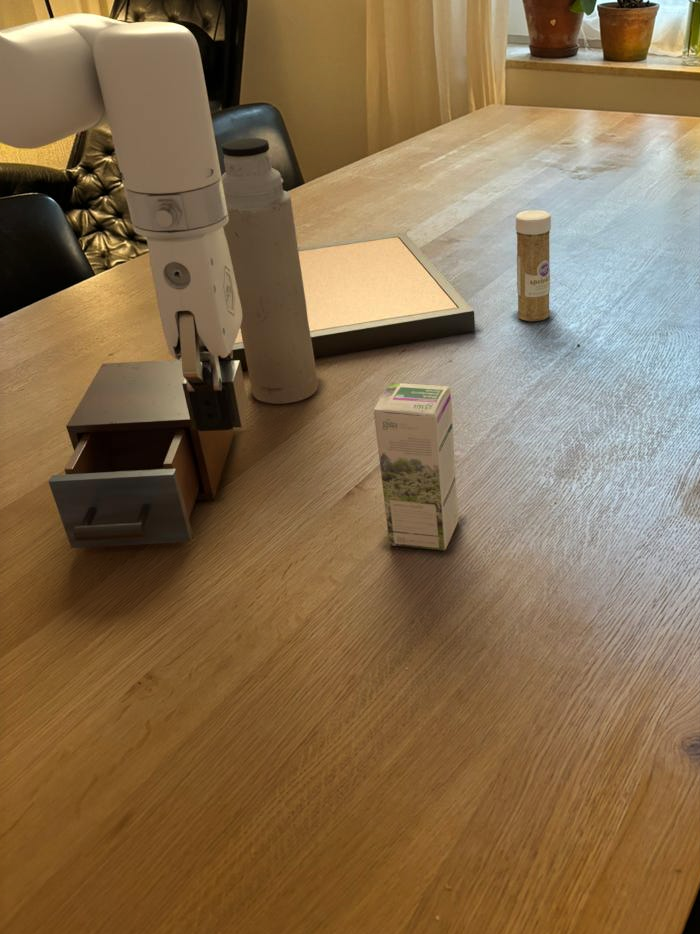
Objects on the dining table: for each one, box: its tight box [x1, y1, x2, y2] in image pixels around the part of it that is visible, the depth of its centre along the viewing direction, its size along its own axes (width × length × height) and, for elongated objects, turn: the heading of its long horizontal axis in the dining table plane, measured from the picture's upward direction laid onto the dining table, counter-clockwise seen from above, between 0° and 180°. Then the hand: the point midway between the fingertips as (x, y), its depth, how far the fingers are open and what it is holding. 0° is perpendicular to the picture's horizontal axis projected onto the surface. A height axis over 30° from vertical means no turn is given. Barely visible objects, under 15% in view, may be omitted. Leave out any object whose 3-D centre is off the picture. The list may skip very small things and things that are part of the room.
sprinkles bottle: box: [515, 209, 552, 322], centre depth 136 cm, size 5×5×13 cm
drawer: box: [48, 427, 202, 549], centre depth 99 cm, size 18×11×7 cm, turn 2°
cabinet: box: [65, 358, 235, 501], centre depth 108 cm, size 15×13×9 cm
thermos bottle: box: [221, 137, 319, 405], centre depth 117 cm, size 8×8×28 cm
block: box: [182, 361, 249, 429], centre depth 92 cm, size 4×4×4 cm
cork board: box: [227, 232, 476, 371], centre depth 145 cm, size 36×3×35 cm
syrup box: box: [373, 382, 460, 551], centre depth 95 cm, size 6×6×14 cm
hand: (219, 413), depth 93 cm, fingers closed on block, 4 cm apart
